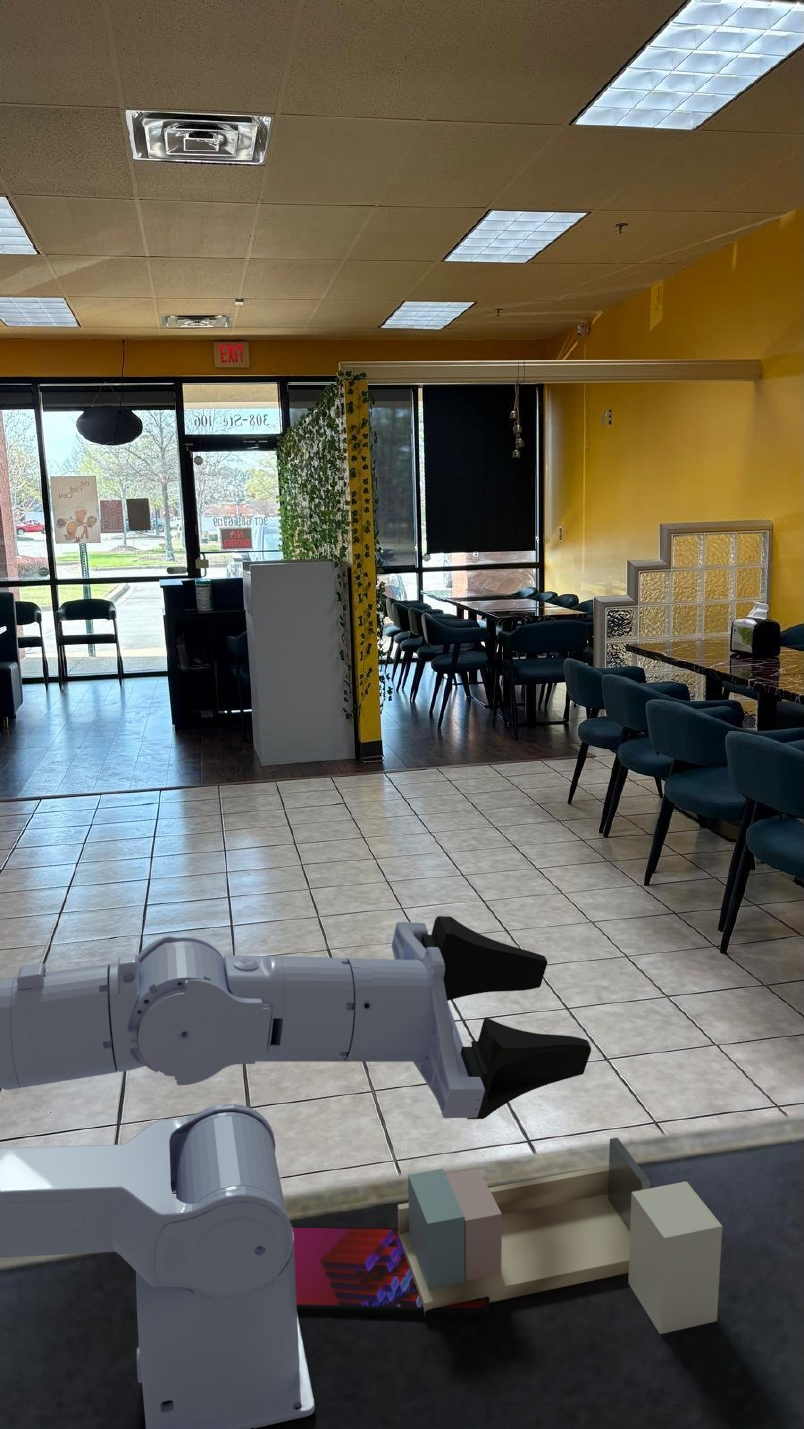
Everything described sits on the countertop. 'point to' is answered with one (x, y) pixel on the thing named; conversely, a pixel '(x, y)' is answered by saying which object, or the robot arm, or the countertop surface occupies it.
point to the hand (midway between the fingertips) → (562, 1012)
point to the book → (674, 1256)
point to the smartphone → (362, 1275)
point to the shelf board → (541, 1239)
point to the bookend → (623, 1180)
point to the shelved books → (454, 1227)
